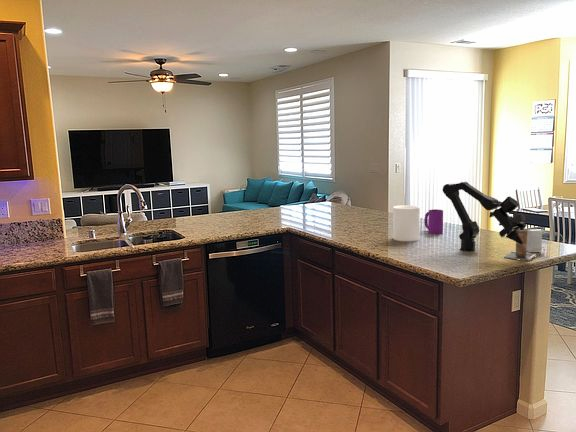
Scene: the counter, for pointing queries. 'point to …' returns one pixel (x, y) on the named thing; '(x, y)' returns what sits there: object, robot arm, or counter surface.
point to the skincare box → (534, 240)
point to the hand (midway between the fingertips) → (524, 242)
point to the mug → (434, 221)
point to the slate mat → (513, 256)
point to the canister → (406, 223)
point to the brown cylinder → (522, 248)
